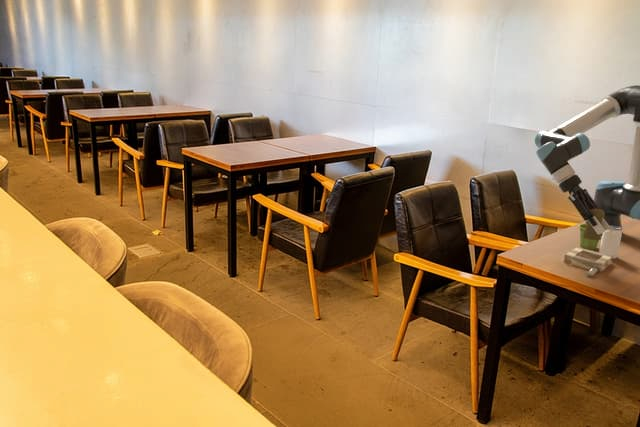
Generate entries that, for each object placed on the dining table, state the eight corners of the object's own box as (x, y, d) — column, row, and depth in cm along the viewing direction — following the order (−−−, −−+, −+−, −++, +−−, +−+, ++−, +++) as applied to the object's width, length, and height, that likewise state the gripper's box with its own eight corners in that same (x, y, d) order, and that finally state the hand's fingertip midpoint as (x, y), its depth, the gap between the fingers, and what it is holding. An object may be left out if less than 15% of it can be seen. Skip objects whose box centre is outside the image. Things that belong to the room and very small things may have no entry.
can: (618, 260, 208) (625, 231, 205) (600, 258, 209) (607, 229, 206) (613, 254, 214) (619, 225, 211) (596, 252, 216) (602, 224, 212)
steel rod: (595, 268, 199) (596, 263, 198) (600, 270, 197) (601, 265, 197) (585, 276, 192) (586, 270, 191) (591, 277, 190) (592, 272, 190)
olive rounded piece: (579, 235, 202) (585, 207, 199) (590, 234, 205) (596, 206, 202) (592, 241, 197) (598, 212, 194) (604, 239, 199) (610, 211, 196)
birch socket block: (575, 254, 213) (577, 246, 212) (611, 263, 204) (612, 256, 203) (563, 262, 204) (565, 254, 203) (600, 272, 195) (601, 265, 194)
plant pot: (585, 251, 216) (589, 231, 213) (570, 243, 225) (574, 223, 222) (605, 251, 218) (609, 230, 215) (589, 242, 227) (593, 223, 224)
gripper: (567, 181, 212) (603, 231, 206) (549, 188, 199) (587, 241, 194) (583, 170, 207) (621, 221, 201) (566, 176, 194) (605, 231, 189)
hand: (604, 231), depth 198 cm, fingers closed on olive rounded piece, 5 cm apart
